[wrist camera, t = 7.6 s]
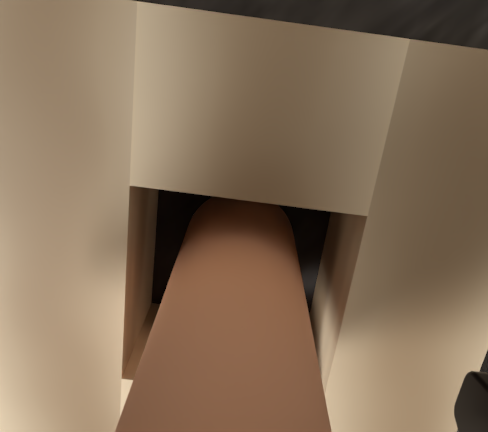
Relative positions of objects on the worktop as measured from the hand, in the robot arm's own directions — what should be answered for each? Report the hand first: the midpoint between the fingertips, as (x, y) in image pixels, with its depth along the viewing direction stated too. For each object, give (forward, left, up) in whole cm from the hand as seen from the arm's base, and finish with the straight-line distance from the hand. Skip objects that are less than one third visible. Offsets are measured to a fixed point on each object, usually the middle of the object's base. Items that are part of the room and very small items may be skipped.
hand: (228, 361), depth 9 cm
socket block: (0, 0, -6) cm, 6 cm away
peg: (0, 0, -6) cm, 6 cm away
